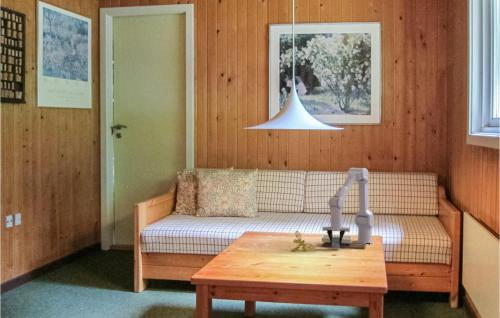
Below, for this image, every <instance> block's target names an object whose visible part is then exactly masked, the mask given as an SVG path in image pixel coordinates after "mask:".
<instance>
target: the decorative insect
mask: <svg viewBox="0 0 500 318" xmlns="http://www.w3.org/2000/svg"><path fill="white" fill-rule="evenodd" d="M295 237H296V238H297V239H293V243H294V244H297V246H296V247H295V248H291V250H290V252H295V251H296V250H298V249H300V248H301V249H302V251H303V252H306V251H307V249H310V250H313V249H316V248H315V245H313V244H312V243H309V244H308V243H305V242H306V240H305V239H302V235H301V233H300V232H299V230H296V231H295Z"/></svg>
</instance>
